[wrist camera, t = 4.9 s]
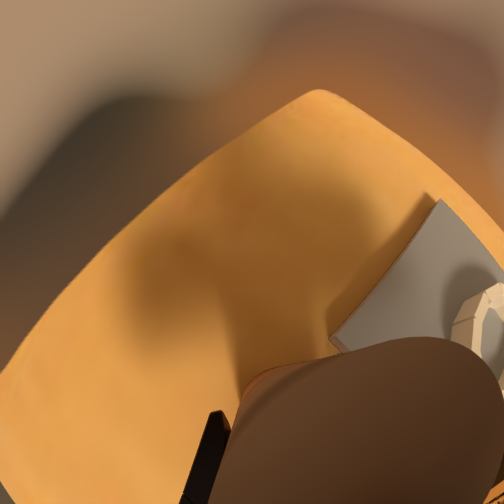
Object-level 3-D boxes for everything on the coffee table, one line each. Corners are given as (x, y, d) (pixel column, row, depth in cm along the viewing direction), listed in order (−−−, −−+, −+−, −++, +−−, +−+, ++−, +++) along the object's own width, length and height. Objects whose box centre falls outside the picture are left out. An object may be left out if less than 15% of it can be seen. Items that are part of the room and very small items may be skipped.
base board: (539, 350, 14) (563, 341, 11) (473, 483, 10) (501, 490, 6) (432, 207, 21) (454, 181, 17) (328, 338, 16) (349, 328, 13)
